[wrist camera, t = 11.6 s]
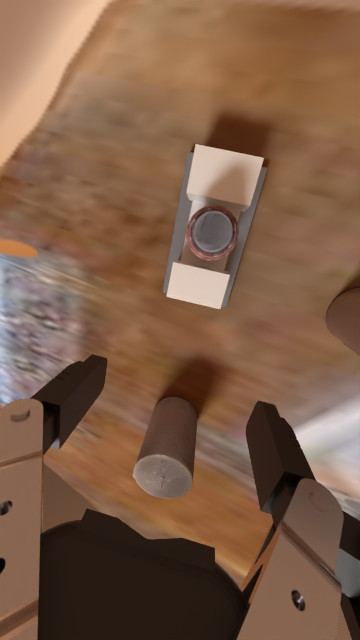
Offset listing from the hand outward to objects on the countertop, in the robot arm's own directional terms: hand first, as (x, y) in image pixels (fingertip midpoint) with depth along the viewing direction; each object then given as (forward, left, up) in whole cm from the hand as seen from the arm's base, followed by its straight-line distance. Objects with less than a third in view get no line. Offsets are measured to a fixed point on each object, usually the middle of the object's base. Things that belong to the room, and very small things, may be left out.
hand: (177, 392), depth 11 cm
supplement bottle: (+7, -5, -26) cm, 27 cm away
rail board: (+7, -5, -27) cm, 29 cm away
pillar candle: (-22, +17, -28) cm, 39 cm away
